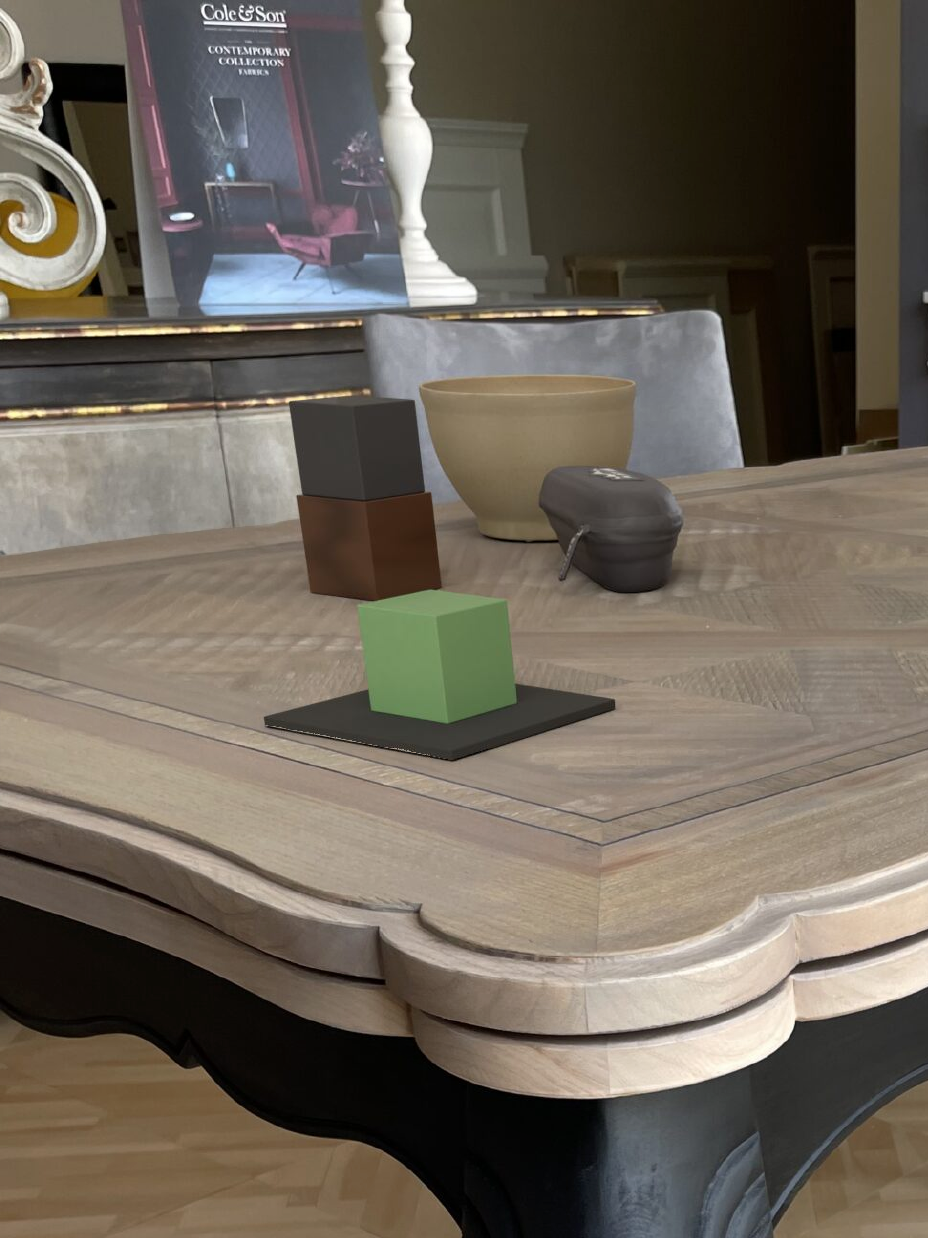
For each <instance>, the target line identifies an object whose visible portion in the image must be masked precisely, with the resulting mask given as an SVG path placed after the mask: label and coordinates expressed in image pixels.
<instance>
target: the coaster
mask: <svg viewBox="0 0 928 1238" xmlns="http://www.w3.org/2000/svg"><path fill="white" fill-rule="evenodd" d="M515 689H516V699H517V703H516V704H514V705H510V706H507V707H503V708H500V709H497V710H493V711H490V712H487V713H483V714H480V715H476V716H473V717H470V718H466V719H463V720H459V721H456V722H453V723H449V724H445V723H439V722H434V721H428V720H422V719H416V718H410V717H405V716H399V715H393V714H387V713H381V712H376V711H372V710H371V705H370V698H369V690H368V688H367V689H364V690H359V691H356V692H352V693H349V694H345V695H340V696H337V697H332V698H330V699H326V700H322V701H318V702H315V703H311V704H307V705H302V706H300V707H296V708H291V709H287V710H284V711H279V712H275V713H272V714H269V715H265V716H263V721H264V722H263V723H264V726H265V725H268V726H276V727H282V728H286V729H290V730H297V731H303V732H309V733H313V734H314V733H315V734H320V735H326V736H330V737H335V738H336V737H337V738H341V739H346V740H352V741H356V742H361V743H365V744H372V745H377V746H381V747H388V748H397V749H398V748H399V749H404V750H406V751H407V750H409V751H411V752H416V753H421V754H426V755H427V754H428V755H430V756H435V757H440V758H445V759H448V760H447V761H451V760H453V761H455V760H454V759H456V760H458V759H457V758H460V757H463V758H465V756H466V757H468V756H467V755H469V754H472V755H474V754H473V753H475V752H478V753H480V752H479V751H481V752H484V751H483V750H485V751H487V750H486V749H488V750H490V748H491V749H493V748H497V747H500V746H503V745H506V744H509V743H513V742H515V741H519V740H522V739H525V738H528V737H531V736H534V735H537V734H540V733H544V732H547V731H550V730H553V729H557V728H559V727H563V726H565V725H569V724H571V723H575V722H578V721H581V720H585V719H588V718H591V717H594V716H597V715H600V714H603V713H606V712H610V711H612V710H615V709H616V708H617V705H616V699H615V698H611V697H605V696H597V695H591V694H586V693H580V692H579V693H578V692H573V691H565V690H559V689H552V688H547V687H546V688H545V687H540V686H534V685H527V684H521V683H515ZM475 754H476V753H475ZM469 756H470V755H469ZM440 758H439V759H440ZM445 759H444V760H445ZM460 759H461V758H460Z"/></svg>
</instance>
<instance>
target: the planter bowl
mask: <svg viewBox="0 0 928 1238" xmlns="http://www.w3.org/2000/svg"><path fill="white" fill-rule="evenodd" d="M418 393H419V397H420V399H421V400H420V401H421V402H422V405H423V407H424V413H425V419H426V425H427V429H428V433H429V437H430V440H431V443H432V446H433V449H434V452H435V454H436V455H435V456H436V458H437V460H438V463H439V464H440V466H441V468H442V471H443V472H444V474H445V477H447V480H448V481H449V483H450V484H451V486H452V487H453V488H454V490H455V492H456V494H458V496H459V498H461V500H462V501H463V503H464V504H465V505H466V507H467V508H468V509H469V510H470V511H471V512H472V513H473V514H474V516H475V518H476V521H477V526H478V529H479V532H480V533H481V535H484V536H486V537H490V538H495V539H501V540H511V541H525V542H526V543H532V542H533V541H558V538H557V535H556V533H555V531H554V530H553V528H552V527H551V525H550V522H549V520H548V517H547V515H546V513H545V512H544V510H543V509H541V508H540V507H539V505H538V503H539V492H540V491H541V487H542V484H543V480H544V478H545V476H546V475H547V474H548V473H549V472H550V471H551V470H553V469H554V468H557V467H563V466H599V467H610V468H618V469H624V470H627V468H628V464H629V460H630V456H631V451H632V445H633V438H634V429H635V427H634V426H635V411H634V410H635V408H634V405H635V399H636V394H637V383H636V381H634V380H632V379H628V378H627V379H626V378H621V377H620V378H619V377H614V376H613V377H612V376H603V375H587V374H563V373H561V374H552V373H551V374H550V373H549V374H547V373H546V374H545V373H543V374H539V373H538V374H536V373H535V374H534V373H531V374H530V373H529V374H528V373H527V374H497V375H495V374H494V375H479V376H478V375H477V376H462V377H461V376H459V377H448V378H440V379H432V380H428V381H427V380H426V381H423V382H421V383H419V384H418Z"/></svg>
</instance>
